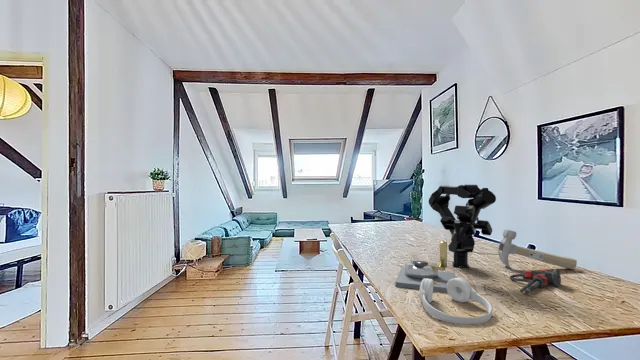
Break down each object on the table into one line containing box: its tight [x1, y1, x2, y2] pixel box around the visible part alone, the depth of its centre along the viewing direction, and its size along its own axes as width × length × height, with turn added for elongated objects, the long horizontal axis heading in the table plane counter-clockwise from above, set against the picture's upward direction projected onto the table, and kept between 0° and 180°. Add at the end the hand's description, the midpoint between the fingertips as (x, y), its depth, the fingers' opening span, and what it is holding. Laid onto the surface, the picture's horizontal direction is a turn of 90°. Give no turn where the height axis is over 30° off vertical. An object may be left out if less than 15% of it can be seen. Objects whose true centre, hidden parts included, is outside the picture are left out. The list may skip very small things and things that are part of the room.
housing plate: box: [395, 267, 456, 293], centre depth 120 cm, size 20×20×2 cm
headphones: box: [418, 277, 493, 325], centre depth 94 cm, size 7×18×20 cm
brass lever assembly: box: [404, 240, 448, 279], centre depth 121 cm, size 15×12×13 cm
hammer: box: [497, 228, 578, 271], centre depth 138 cm, size 16×5×30 cm
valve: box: [509, 268, 562, 295], centre depth 116 cm, size 6×26×15 cm
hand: (457, 242), depth 124 cm, fingers closed
